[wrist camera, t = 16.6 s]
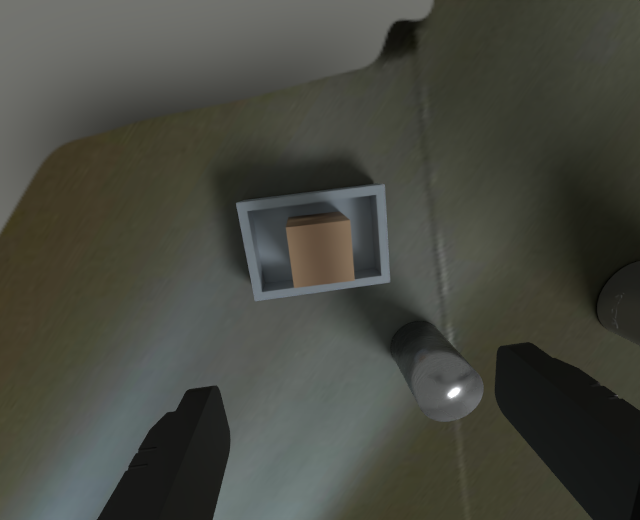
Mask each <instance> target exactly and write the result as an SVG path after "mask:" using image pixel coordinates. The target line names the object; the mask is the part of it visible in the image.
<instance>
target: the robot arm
mask: <svg viewBox="0 0 640 520" xmlns="http://www.w3.org/2000/svg"><path fill="white" fill-rule="evenodd" d="M597 314H598V318H599V320H600V322H601V324H602V325H603V326H604V327H605V328H606V329H608V330H610V331H611V332H613V333H615V334H617V335H619V336H621V337H623V338H625V339H627V340H629V341H631V342H633V343H635V344H637V345H639V346H640V261H637V262H634V263H631V264H629V265H627V266H625V267H623V268H622V269H620V270H619V271H618V272H616V273H615V274H614V275H613V276H612V277H611V278H610V279H609V280H608V282H607V283H606V284H605V286H604V287H603V289H602V291H601V293H600V295H599V299H598V303H597ZM495 397H496V400H497V403H498V406H499V408H500V410H501V411H502V413H503V414H504V416H505V417H506V418H507V419H508V420H509V422H510V423H511V424H512V425H513V426H514V427H515V429H516V430H517V431H518V432H519V433H520V434H521V436H522V437H523V438H524V439H525V440H526V441H527V443H528V444H529V445H530V446H531V447H532V449H533V450H534V451H535V452H536V453H537V454H538V456H539V457H540V458H541V459H542V460H543V461H544V463H545V464H546V465H547V466H548V467H549V469H550V470H551V471H552V472H553V473H554V474H555V476H556V477H557V478H558V479H559V480H560V481H561V483H562V484H563V485H564V486H565V487H566V488H567V490H568V491H569V492H570V493H571V494H572V496H573V497H574V498H575V499H576V500H577V501H578V503H579V504H580V505H581V506H582V507H583V508H584V510H585V511H586V512H587V513H588V514H589V516H590V517H591V518H592V519H593V520H640V411H639V410H638V409H637V408H635V407H634V406H632V405H631V404H629V403H628V402H626V401H625V400H624V399H619V398H618V396H617V395H616V394H615V393H613V392H612V391H611V390H609V389H608V388H606V387H605V386H601V385H600V383H599V382H598V381H596V380H595V379H593V378H592V377H590V376H589V375H588V374H586V373H585V372H583V371H582V370H580V369H579V368H577V367H574V366H572V365H570V364H567V363H565V362H563V361H561V360H558V359H556V358H552V357H550V356H549V355H548V354H546V353H545V352H544V351H542V350H541V349H539V348H538V347H537V346H535V345H534V344H532V343H529V342H526V343H519V344H512V345H505V346H500V347H499V348H498V351H497V360H496V377H495ZM138 450H139V451H138V453H136V454H135V456H134V458H133V459H132V461H131V463H130V465H129V466H128V467H129V468H128V471H125V473H124V475H123V476H122V478H121V480H120V482H119V483H118V485H117V487H116V488H115V490H114V492H113V494H112V495H111V497H110V499H109V500H108V502H107V504H106V505H105V507H104V509H103V511H102V512H101V514H100V516H99V517H98V519H97V520H213V516H214V512H215V508H216V504H217V500H218V496H219V492H220V488H221V484H222V480H223V476H224V472H225V468H226V464H227V460H228V456H229V451H230V430H229V425H228V421H227V417H226V413H225V409H224V405H223V401H222V397H221V393H220V390H219V388H218V387H217V386H209V387H202V388H195V389H189V390H187V391H186V393H185V394H184V396H183V398H182V400H181V402H180V404H179V406H178V408H177V409H176V411H174V412H167V413H166V414H165V415H164V416H163V417H162V418H161V419H160V420H159V421H158V422H157V423H156V424H155V425H154V426H153V427H152V428H151V429H150V430H149V432H148V434H147V436H146V437H145V439H144V441H143V442H142V444H141V446H140V448H139V449H138Z"/></svg>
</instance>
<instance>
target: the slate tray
mask: <svg viewBox="0 0 640 520" xmlns="http://www.w3.org/2000/svg"><path fill="white" fill-rule="evenodd" d="M236 206H237V211H238V217H239V222H240V227H241V232H242V237H243V242H244V247H245V252H246V257H247V262H248V268H249V273H250V278H251V283H252V288H253V293H254V298H255V301H260V300H267V299H275V298H282V297H289V296H296V295H303V294H310V293H318V292H325V291H332V290H339V289H346V288H353V287H361V286H368V285H375V284H382V283H389V282H390V269H389V251H388V233H387V216H386V198H385V184H377V183H375V184H367V185H359V186H351V187H344V188H336V189H328V190H320V191H312V192H304V193H296V194H288V195H280V196H272V197H265V198H257V199H249V200H242V201H240V202H237V203H236ZM338 211H340V212H341V213H342V214H344V215H345V216H346V217H347V218H348V219H349V220H350V224H351V237H352V250H353V264H354V277H355V281H348V282H340V283H332V284H324V285H316V286H307V287H299V288H294V284H293V277H292V269H291V262H290V255H289V247H288V240H287V233H286V224H287V220H288V217H293V216H302V215H311V214H320V213H329V212H338Z"/></svg>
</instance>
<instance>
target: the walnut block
mask: <svg viewBox="0 0 640 520" xmlns="http://www.w3.org/2000/svg"><path fill="white" fill-rule="evenodd" d="M286 233H287V240H288V247H289V255H290V262H291V269H292V277H293V284H294V288H299V287H307V286H316V285H324V284H332V283H340V282H348V281H355V277H354V264H353V250H352V237H351V224H350V220H349V219H348V218H347V217H346V216H345V215H344V214H342V213H341V212H340V211H338V212H329V213H320V214H311V215H302V216H293V217H288V220H287V224H286Z"/></svg>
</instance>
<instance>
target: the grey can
mask: <svg viewBox="0 0 640 520" xmlns="http://www.w3.org/2000/svg"><path fill="white" fill-rule="evenodd" d="M391 352H392V355H393V358H394V359H395V361H396V363H397V365H398V367H399V369H400V371H401V373H402V375H403V376H404V378H405V380H406V382H407V384H408V386H409V388H410V390H411V392H412V394H413V395H414V397H415V399H416V401H417V403H418V405H419V407H420V409H421V410H422V412H423V413H424V414H425V415H426V416H427V417H429V418H431V419H433V420H436V421H442V422H447V421H454V420H457V419H460V418H462V417H464V416H466V415H468V414H469V413H470V412H472V411H473V410H474V409H475V408H476V406H477V405H478V404H479V402H480V400H481V398H482V395H483V382H482V379H481V377H480V375H479V374H478V373H477V372H476V371H475V370H474V369H473V368H472V366H471V365H470V364H469V363H468V362H467V361H466V360H465V359H464V358H463V357H462V356H461V354H460V353H459V352H458V351H457V350H456V349H455V348H454V347H453V346H452V345H451V343H450V342H449V341H448V340H447V339H446V338H445V337H444V336H443V335H442V334H441V332H440V331H439V330H438V329H437V328H436V327H435V326H433V325H432V324H429V323H426V322H413V323H410V324H407V325H405V326H404V327H402V328H401V329H400V330H399V331H398V332H397V333H396V334H395V336H394V338H393V340H392V343H391Z"/></svg>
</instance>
